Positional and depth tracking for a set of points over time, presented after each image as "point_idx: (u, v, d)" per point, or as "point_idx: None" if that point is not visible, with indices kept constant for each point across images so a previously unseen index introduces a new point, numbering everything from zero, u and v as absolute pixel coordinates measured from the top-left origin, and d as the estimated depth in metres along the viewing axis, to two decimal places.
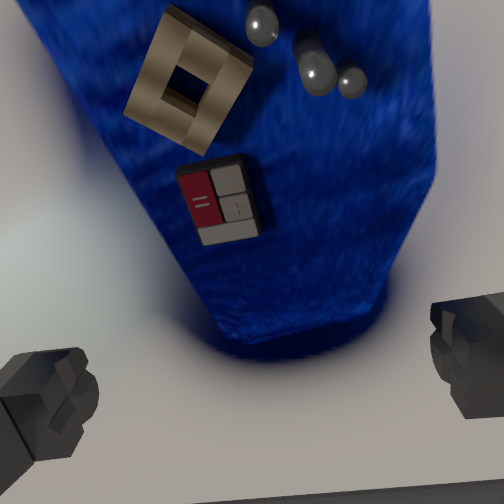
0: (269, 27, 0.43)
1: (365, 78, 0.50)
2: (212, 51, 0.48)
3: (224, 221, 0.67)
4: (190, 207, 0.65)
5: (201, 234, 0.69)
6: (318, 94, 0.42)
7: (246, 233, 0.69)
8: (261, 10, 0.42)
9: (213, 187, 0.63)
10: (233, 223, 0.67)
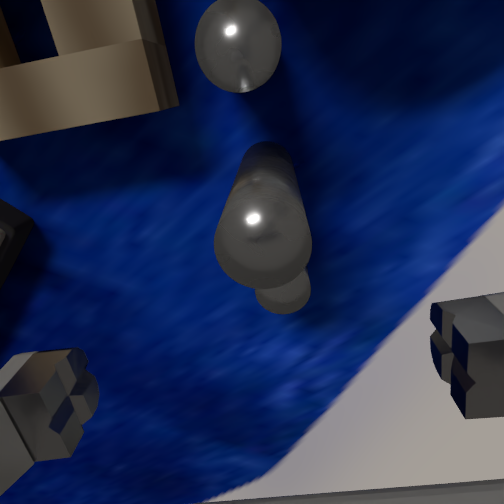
0: (252, 57, 0.16)
1: (306, 298, 0.26)
2: (114, 0, 0.19)
3: None
4: None
5: None
6: (230, 271, 0.15)
7: None
8: (267, 11, 0.16)
9: None
10: None
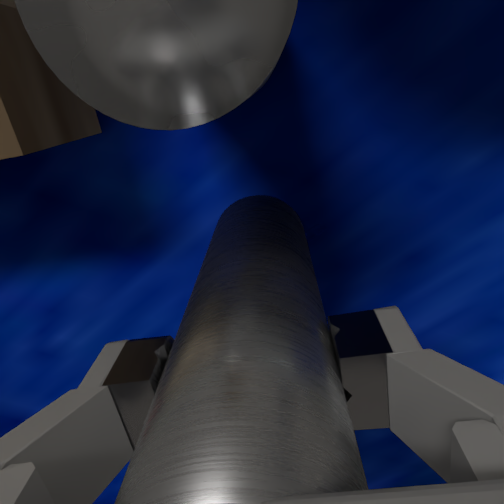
0: (202, 17, 0.05)
1: None
2: None
3: None
4: None
5: None
6: None
7: None
8: None
9: None
10: None
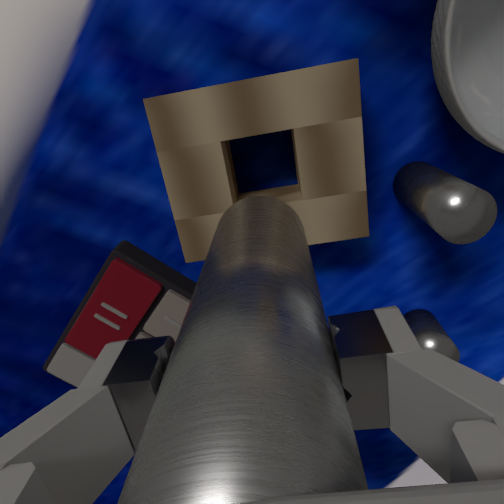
0: (474, 223, 0.24)
1: None
2: (352, 166, 0.27)
3: None
4: (86, 309, 0.34)
5: (59, 354, 0.36)
6: None
7: None
8: (490, 197, 0.24)
9: (147, 312, 0.35)
10: None
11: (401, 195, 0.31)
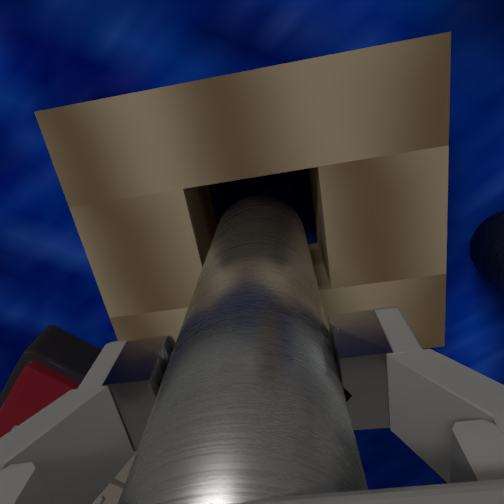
0: None
1: None
2: (423, 234, 0.15)
3: None
4: None
5: None
6: None
7: None
8: None
9: None
10: None
11: (491, 268, 0.18)
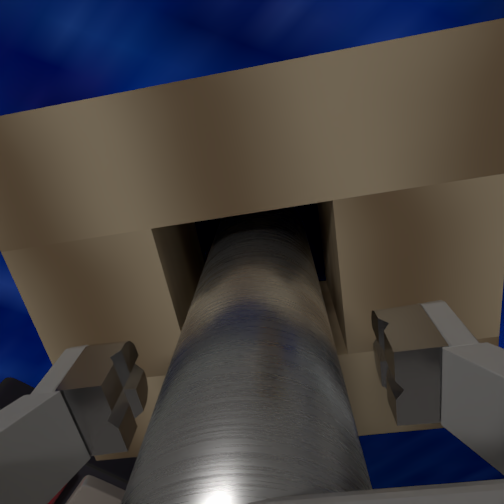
0: None
1: None
2: (471, 287, 0.11)
3: None
4: None
5: None
6: None
7: None
8: None
9: None
10: None
11: None
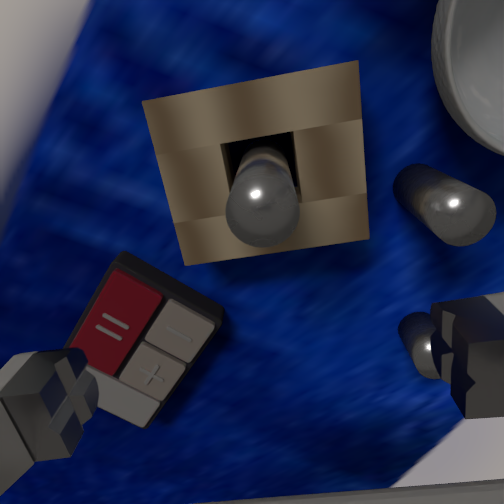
0: (473, 225, 0.24)
1: None
2: (352, 169, 0.27)
3: (115, 374, 0.37)
4: (87, 320, 0.34)
5: None
6: (238, 233, 0.19)
7: (129, 413, 0.38)
8: (490, 199, 0.23)
9: (149, 322, 0.35)
10: (126, 387, 0.37)
11: (401, 197, 0.30)
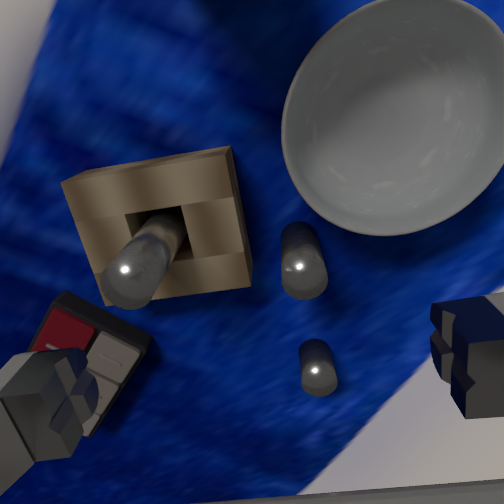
0: (311, 285, 0.31)
1: (334, 387, 0.40)
2: (230, 233, 0.34)
3: None
4: (34, 349, 0.42)
5: None
6: (111, 299, 0.26)
7: None
8: (321, 266, 0.30)
9: (86, 350, 0.42)
10: None
11: None
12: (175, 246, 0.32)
